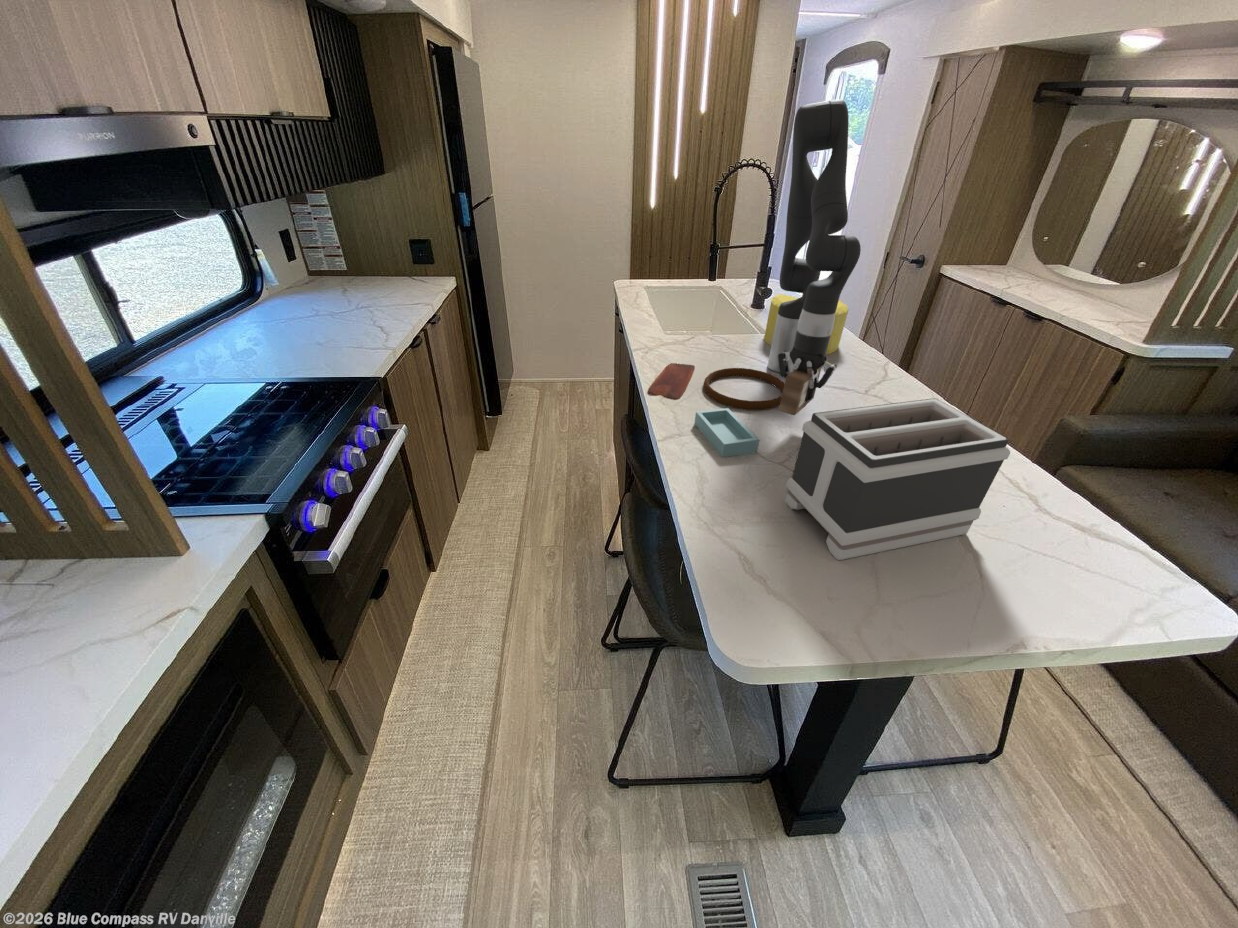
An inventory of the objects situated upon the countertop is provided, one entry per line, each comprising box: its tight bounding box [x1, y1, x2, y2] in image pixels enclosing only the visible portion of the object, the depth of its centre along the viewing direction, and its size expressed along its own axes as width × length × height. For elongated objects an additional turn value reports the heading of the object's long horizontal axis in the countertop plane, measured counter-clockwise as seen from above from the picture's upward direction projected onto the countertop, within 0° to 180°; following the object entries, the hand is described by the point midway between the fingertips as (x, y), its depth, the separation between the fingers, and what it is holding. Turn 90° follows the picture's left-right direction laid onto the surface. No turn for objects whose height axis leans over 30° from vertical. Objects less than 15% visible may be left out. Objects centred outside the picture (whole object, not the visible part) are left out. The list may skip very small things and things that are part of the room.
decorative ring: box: [702, 367, 785, 411], centre depth 149 cm, size 24×3×30 cm
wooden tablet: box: [647, 362, 695, 400], centre depth 156 cm, size 27×10×2 cm, turn 161°
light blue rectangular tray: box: [694, 407, 760, 458], centre depth 126 cm, size 16×9×4 cm, turn 16°
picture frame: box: [778, 366, 823, 416], centre depth 125 cm, size 12×4×9 cm, turn 141°
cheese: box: [763, 293, 849, 355], centre depth 183 cm, size 26×26×15 cm
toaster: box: [784, 397, 1011, 561], centre depth 97 cm, size 18×34×21 cm, turn 106°
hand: (798, 397), depth 126 cm, fingers closed on picture frame, 4 cm apart
